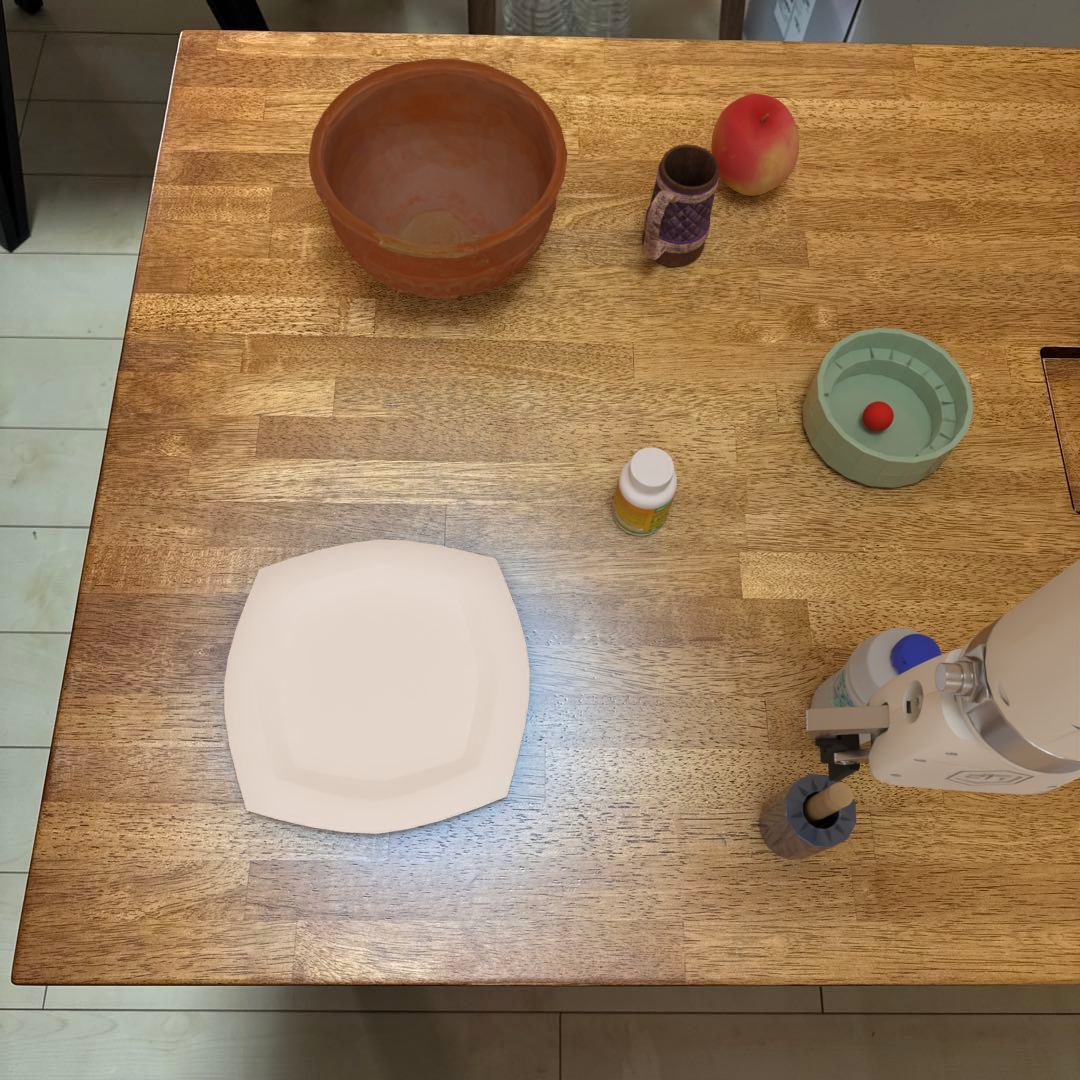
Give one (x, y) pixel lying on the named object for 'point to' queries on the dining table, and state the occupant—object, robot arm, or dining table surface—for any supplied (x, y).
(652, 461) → the supplement bottle
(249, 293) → the dining table surface
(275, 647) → the plate
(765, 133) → the apple
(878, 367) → the green round dish
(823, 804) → the stick
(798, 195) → the dining table surface
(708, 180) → the mug
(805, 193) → the dining table surface
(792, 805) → the holder
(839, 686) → the bottle
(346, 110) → the bowl
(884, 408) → the red ball
